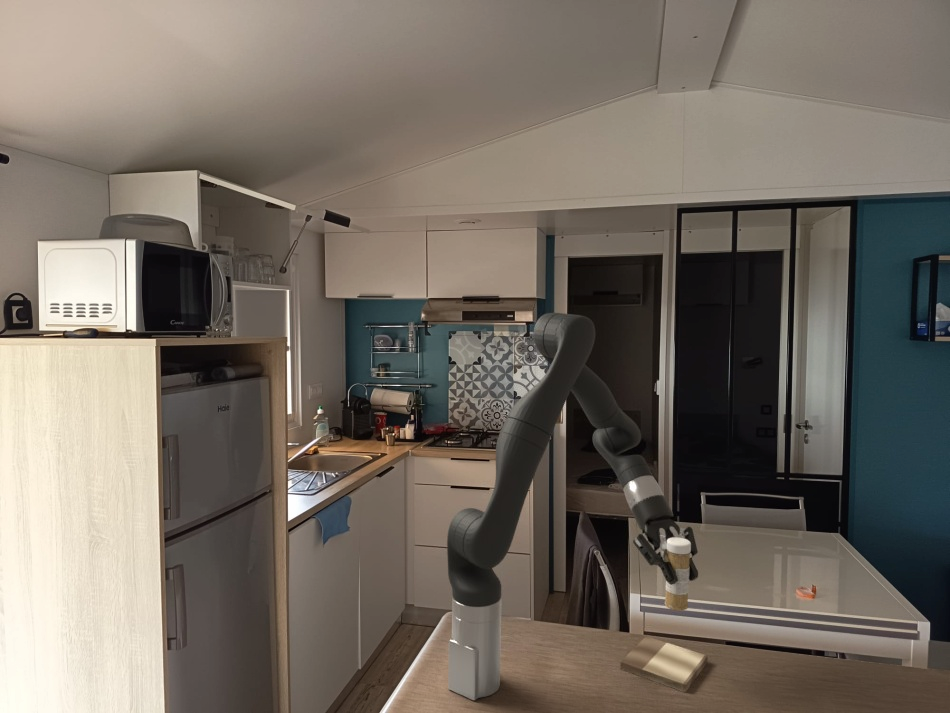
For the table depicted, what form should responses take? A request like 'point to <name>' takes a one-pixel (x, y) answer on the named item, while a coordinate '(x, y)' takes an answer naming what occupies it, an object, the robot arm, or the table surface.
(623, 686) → the table surface
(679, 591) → the sprinkles bottle
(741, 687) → the table surface
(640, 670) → the board
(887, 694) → the table surface
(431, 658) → the table surface
